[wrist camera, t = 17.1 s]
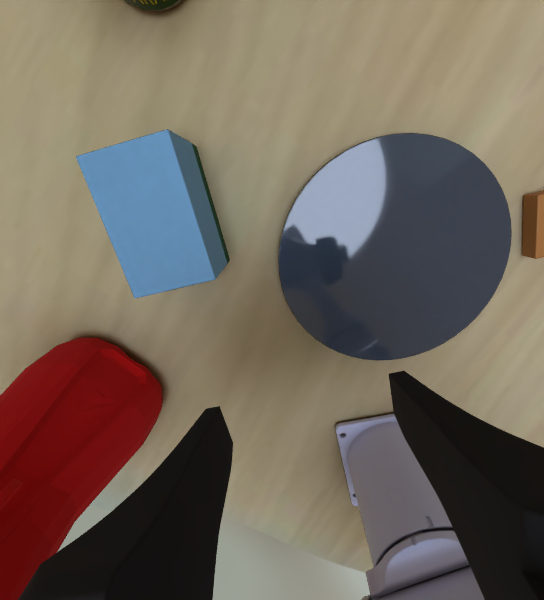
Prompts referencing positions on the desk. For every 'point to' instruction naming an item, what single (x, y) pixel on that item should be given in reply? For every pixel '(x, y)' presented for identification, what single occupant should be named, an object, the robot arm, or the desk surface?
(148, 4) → the beer can
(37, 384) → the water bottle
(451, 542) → the robot arm
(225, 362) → the desk surface
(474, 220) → the plate
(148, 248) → the sponge
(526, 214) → the orange cardboard box
